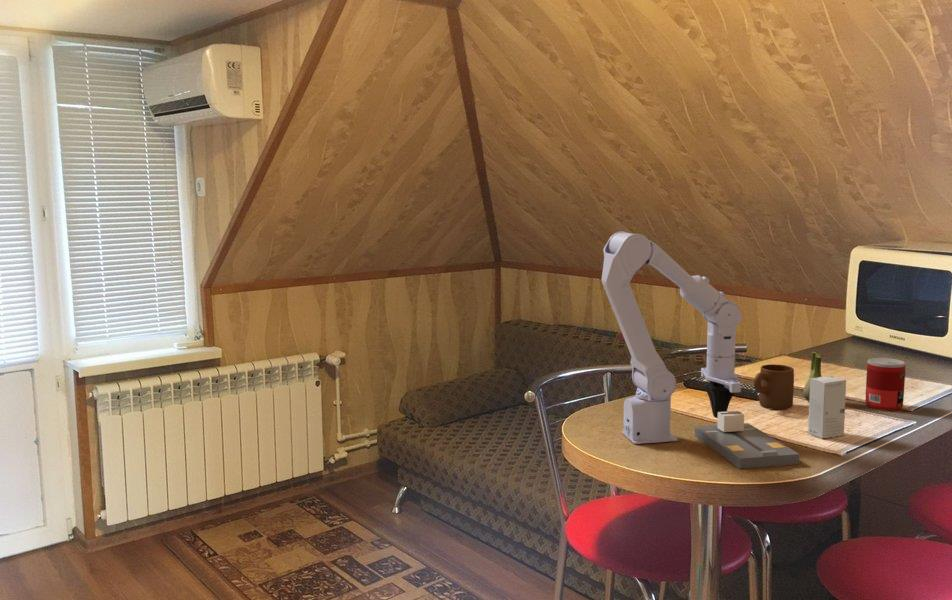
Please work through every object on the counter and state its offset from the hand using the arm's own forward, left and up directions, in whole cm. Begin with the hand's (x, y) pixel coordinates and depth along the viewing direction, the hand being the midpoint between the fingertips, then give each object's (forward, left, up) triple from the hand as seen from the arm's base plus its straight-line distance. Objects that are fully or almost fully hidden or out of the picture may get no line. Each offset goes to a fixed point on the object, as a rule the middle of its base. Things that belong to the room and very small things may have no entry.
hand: (719, 416), depth 169 cm
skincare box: (+21, -6, -4) cm, 22 cm away
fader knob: (0, -5, -1) cm, 5 cm away
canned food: (+46, +10, -4) cm, 47 cm away
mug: (+20, +15, -4) cm, 25 cm away
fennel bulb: (+33, +18, -4) cm, 38 cm away
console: (0, -11, -3) cm, 12 cm away
